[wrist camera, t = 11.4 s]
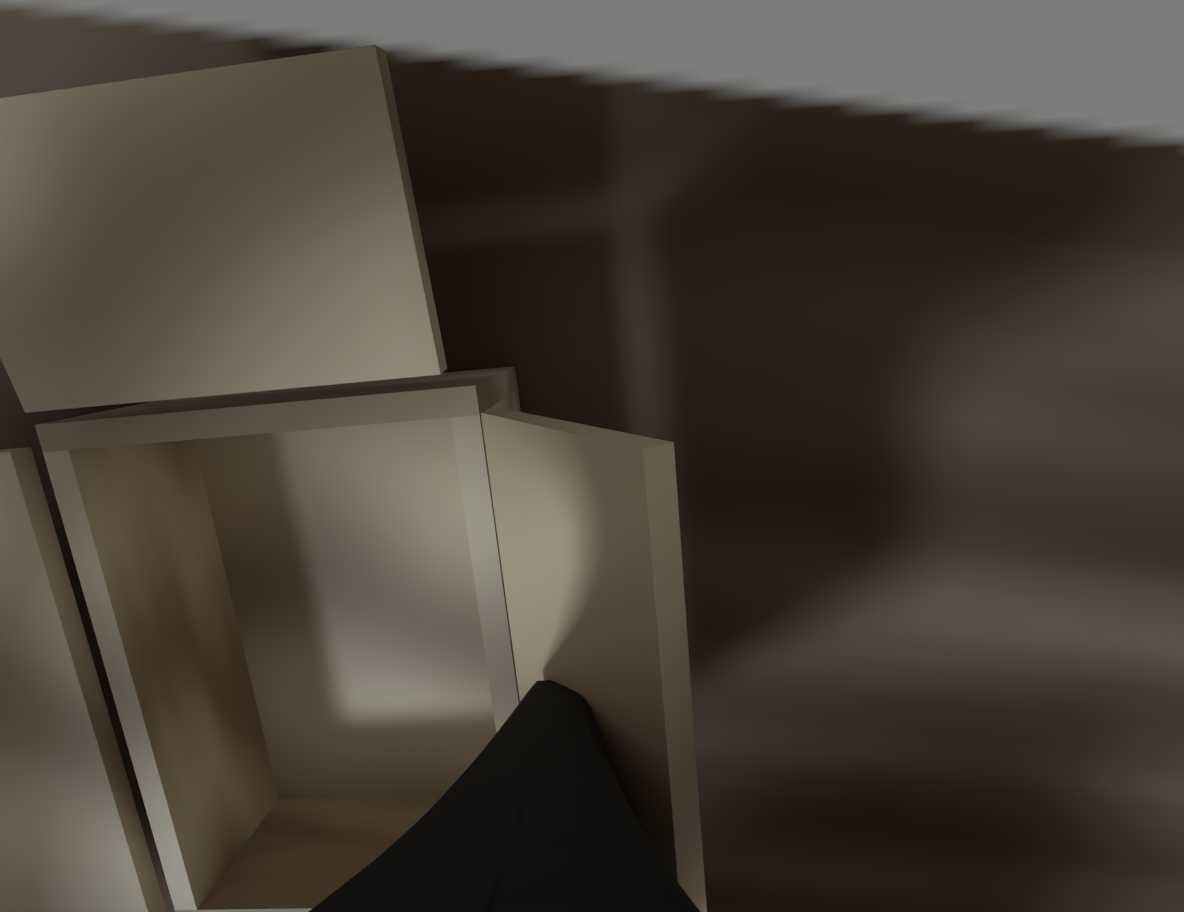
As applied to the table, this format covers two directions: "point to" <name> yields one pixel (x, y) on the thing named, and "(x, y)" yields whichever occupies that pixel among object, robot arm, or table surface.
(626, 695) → the flap
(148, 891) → the carton
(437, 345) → the flap
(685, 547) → the table surface
